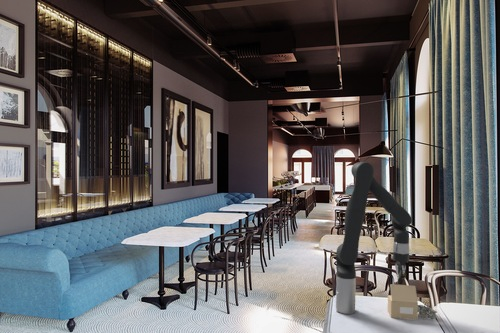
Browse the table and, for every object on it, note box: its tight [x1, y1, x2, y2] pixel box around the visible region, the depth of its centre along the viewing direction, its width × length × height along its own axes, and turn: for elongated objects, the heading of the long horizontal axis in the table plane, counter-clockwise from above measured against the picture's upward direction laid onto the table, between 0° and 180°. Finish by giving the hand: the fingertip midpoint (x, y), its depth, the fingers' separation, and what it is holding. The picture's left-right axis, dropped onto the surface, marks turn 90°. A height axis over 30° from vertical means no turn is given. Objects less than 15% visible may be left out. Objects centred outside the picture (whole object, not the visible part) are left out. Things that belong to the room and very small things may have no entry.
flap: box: [390, 283, 419, 303], centre depth 179 cm, size 12×8×1 cm
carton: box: [387, 294, 419, 321], centre depth 181 cm, size 12×9×8 cm
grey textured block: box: [418, 304, 438, 320], centre depth 182 cm, size 11×8×4 cm
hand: (400, 285), depth 186 cm, fingers closed
